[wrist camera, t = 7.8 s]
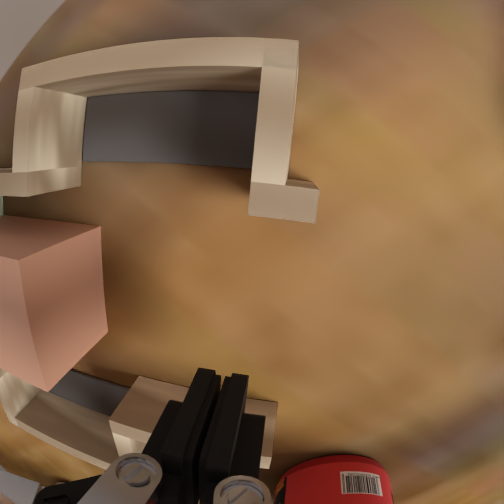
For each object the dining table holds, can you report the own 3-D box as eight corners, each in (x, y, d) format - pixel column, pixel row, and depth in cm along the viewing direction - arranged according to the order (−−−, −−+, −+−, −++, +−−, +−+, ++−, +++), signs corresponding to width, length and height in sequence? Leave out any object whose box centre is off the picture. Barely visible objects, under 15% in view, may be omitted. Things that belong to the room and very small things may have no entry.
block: (108, 330, 17) (48, 392, 11) (16, 302, 17) (-44, 341, 12) (102, 225, 15) (18, 260, 9) (5, 214, 16) (-68, 237, 10)
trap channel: (265, 459, 18) (258, 508, 14) (29, 388, 20) (1, 416, 16) (322, 76, 12) (332, 44, 8) (-3, 99, 14) (-50, 97, 10)
